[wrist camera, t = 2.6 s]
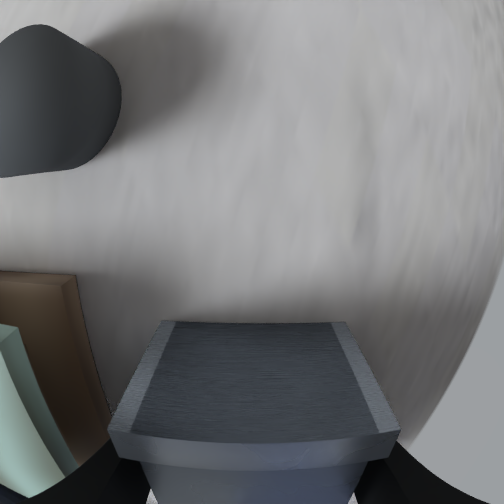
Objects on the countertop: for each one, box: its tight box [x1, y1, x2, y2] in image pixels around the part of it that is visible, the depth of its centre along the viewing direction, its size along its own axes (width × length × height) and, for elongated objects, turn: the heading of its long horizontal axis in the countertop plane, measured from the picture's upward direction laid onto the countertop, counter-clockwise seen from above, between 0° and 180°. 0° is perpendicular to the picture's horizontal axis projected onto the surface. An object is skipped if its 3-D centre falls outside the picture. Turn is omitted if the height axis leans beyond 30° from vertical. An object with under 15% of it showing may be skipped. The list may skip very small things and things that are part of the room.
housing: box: [107, 321, 401, 504], centre depth 9 cm, size 8×6×5 cm
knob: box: [0, 24, 121, 178], centre depth 7 cm, size 4×4×3 cm
